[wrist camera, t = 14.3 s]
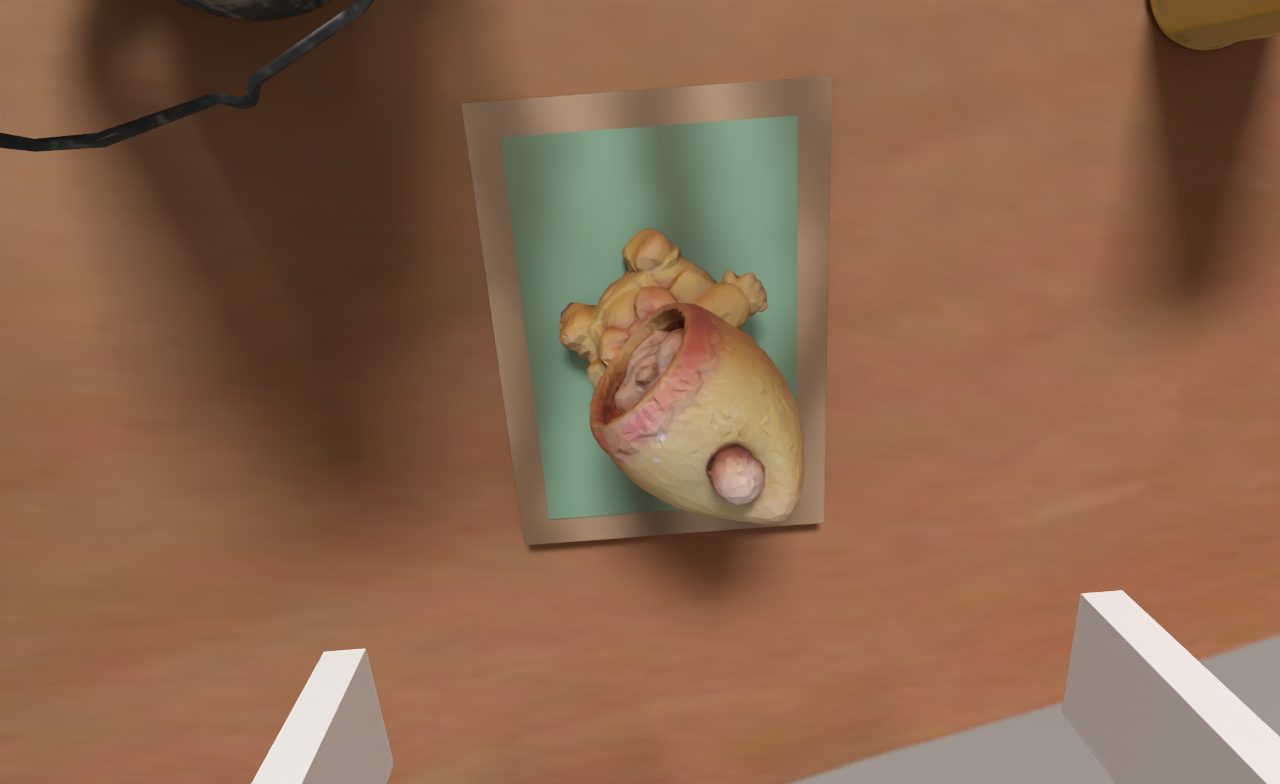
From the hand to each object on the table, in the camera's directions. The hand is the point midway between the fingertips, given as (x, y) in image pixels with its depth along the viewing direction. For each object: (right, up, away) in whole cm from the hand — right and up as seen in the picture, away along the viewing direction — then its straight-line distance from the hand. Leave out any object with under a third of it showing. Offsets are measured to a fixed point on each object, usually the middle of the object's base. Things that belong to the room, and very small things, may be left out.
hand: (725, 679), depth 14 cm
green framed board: (-1, +8, +23) cm, 25 cm away
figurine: (0, +8, +22) cm, 24 cm away
